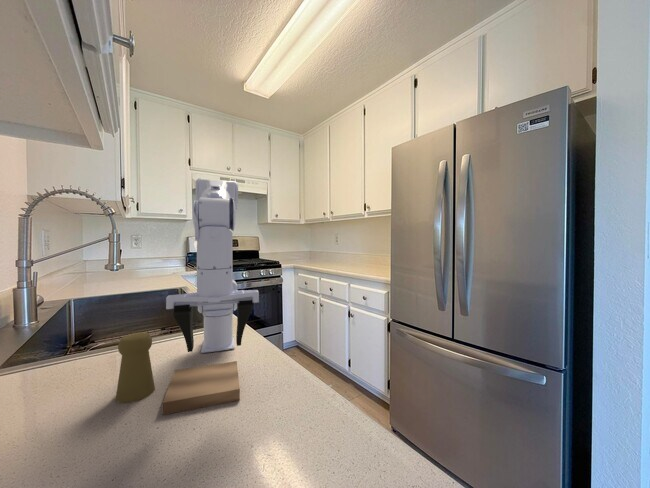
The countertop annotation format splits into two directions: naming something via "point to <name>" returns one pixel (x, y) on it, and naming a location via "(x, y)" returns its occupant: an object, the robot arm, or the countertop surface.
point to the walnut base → (202, 387)
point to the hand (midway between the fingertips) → (215, 346)
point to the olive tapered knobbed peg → (135, 368)
